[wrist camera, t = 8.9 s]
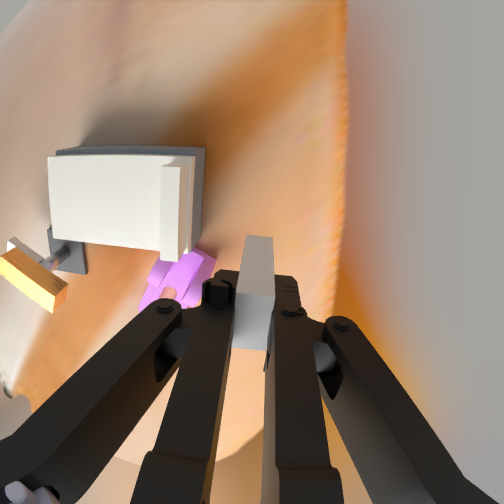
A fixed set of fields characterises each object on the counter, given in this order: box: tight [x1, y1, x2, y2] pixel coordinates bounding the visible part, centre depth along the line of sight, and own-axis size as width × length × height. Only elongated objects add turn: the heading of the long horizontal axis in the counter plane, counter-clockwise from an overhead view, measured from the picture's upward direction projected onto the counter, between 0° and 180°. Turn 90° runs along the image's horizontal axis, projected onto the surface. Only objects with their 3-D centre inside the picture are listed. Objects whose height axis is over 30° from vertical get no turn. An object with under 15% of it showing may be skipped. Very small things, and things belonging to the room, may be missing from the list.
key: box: [0, 237, 70, 313], centre depth 31 cm, size 3×11×9 cm, turn 59°
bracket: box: [139, 247, 216, 313], centre depth 34 cm, size 13×6×7 cm, turn 148°
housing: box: [47, 145, 206, 275], centre depth 32 cm, size 22×17×5 cm
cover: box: [48, 154, 195, 262], centre depth 26 cm, size 16×9×4 cm, turn 84°
